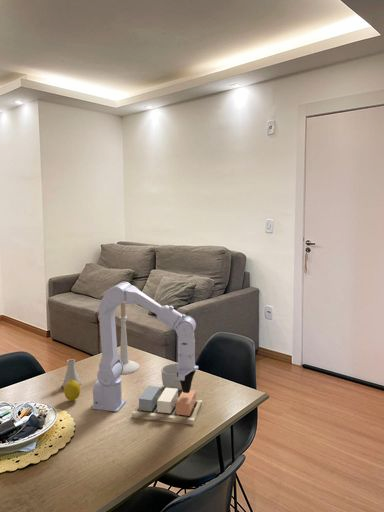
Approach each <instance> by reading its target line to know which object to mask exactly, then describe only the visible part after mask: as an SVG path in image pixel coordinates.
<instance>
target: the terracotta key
mask: <svg viewBox="0 0 384 512" xmlns="http://www.w3.org/2000/svg"><path fill="white" fill-rule="evenodd" d="M178 398H179V399H178V400H177V402H176V404H175V409H176V414H177V415H178V416H180V415H181V416H187V417H188V416H189V417H190V416H191V415H192V411H193V408H194V407H195V406H196V405H195V402H196V400H197V390H196V389H195V390H194V389H193V390H192V389H190V392H189V393H183V390H181V393H180V395H179V396H178Z"/></svg>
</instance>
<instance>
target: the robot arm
mask: <svg viewBox="0 0 384 512" xmlns="http://www.w3.org/2000/svg"><path fill="white" fill-rule="evenodd" d="M124 301H125V305H130V304H131V305H133V304H137V305H139V306H141V307H142V308H144V309H146V310H147V311H149V312H150V313H153V314H155V315H156V318H157V321H159V322H161V323H163V324H164V325H166V326H168V327H169V328H170V329H173V330H174V331H175V333H176V335H177V364H178V366H177V369H178V373H177V377H178V380H180V383H181V386H182V390H181V391H183V393H189V392H190V390H192V389H191V388H192V382H193V379H194V375H195V373H196V371H197V370H199V365H196V358H195V357H196V353H195V352H196V344H195V343H196V340H195V330H196V328H197V322H196V320H195V318H193V317H192V316H191V315H186V314H185V313H181V312H180V311H179V312H178V311H177V310H176V309H174V308H175V307H174V306H173V305H168V304H165V305H161V304H160V303H159V302H156V300H154V299H153V298H152V297H150V296H148V295H147V294H145V293H144V292H142V291H141V290H140V289H139V288H138V287H137V286H135V285H132V284H131V283H129V282H127V281H121V282H119V283H118V284H116V285H114V286H111V287H110V288H108V289H107V290H106V291H105V292H104V293H103V296H102V299H101V301H100V302H99V304H98V318H99V332H100V346H101V357H100V361H99V364H98V371H97V375H96V377H97V379H96V380H95V382H94V384H93V388H92V400H93V401H92V405H93V406H92V409H93V410H99V411H109V412H116V413H117V412H119V411H120V409H121V408H122V407H123V405H124V404H125V403H126V401H127V400H126V399H123V397H122V396H123V395H122V393H123V392H122V391H123V390H122V377H121V375H122V374H121V373H122V371H123V364H122V362H121V360H120V354H119V353H118V341H117V328H116V327H117V325H116V324H117V323H116V313H115V312H116V311H115V310H116V309H118V307H119V306H121V304H122V303H123V302H124Z"/></svg>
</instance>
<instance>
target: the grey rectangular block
mask: <svg viewBox="0 0 384 512" xmlns="http://www.w3.org/2000/svg"><path fill="white" fill-rule="evenodd" d="M160 396H161V386H155V385H154V386H153V385H147V387H146V389H144V391H143V392H142V393H141V395H140V396H139V397H138V404H139V410H140V411H143V412H152V411H154V410H155V409H154V408H155V407H156V406H157V400H158V399H159V397H160Z"/></svg>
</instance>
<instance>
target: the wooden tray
mask: <svg viewBox="0 0 384 512" xmlns="http://www.w3.org/2000/svg"><path fill="white" fill-rule="evenodd" d="M178 399H179V397H178ZM202 405H203V400H202V399H196V402H195V405H194V406H195V408H194V410H193V412H192V413H191V417H190V416H189V417H188V416H183V415H181V416H180V415H178V414H176V408H175V409H174V411H173V412H172V413H171V414H166V413H159V412H157V407H156V408H155V409H154V410H153V412H149V411H141V410H139V403H138V404H136V406H135V408H134V409H133V411H132V412H131V418H135V419H143V420H149V421H151V420H152V421H159V422H160V421H161V422H168V423H177V424H186V425H192V426H193V425H195V423H196V420H197V417H198V416H199V413H200V410H201V408H202Z"/></svg>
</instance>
